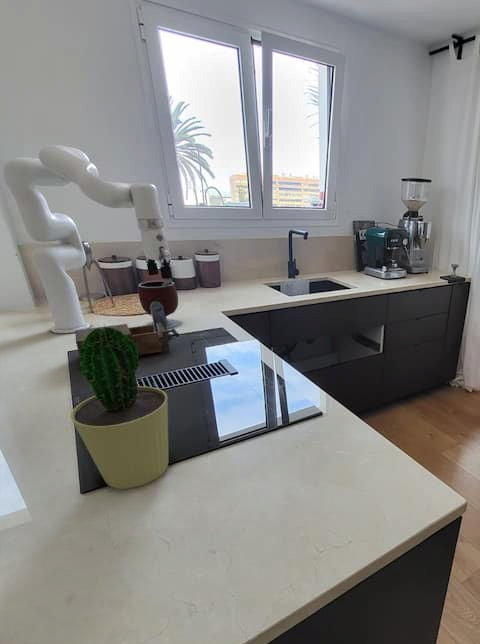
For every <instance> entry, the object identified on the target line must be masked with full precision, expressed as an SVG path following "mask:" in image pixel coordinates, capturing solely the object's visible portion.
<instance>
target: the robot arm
mask: <svg viewBox="0 0 480 644" xmlns="http://www.w3.org/2000/svg"><path fill="white" fill-rule="evenodd" d="M2 176H3V179H4V182H5V184H6V186H7V187H8V190H9V191H10V193H11V195H12V197H13V199H14V201H15V204H16V206H17V209H18V211H19V214H20V217H21V219H22V222H23V224H24V228H25V230H26V233H27V234H28V236H29V237H30V238H31V239H32V240H33V241H35V242H41V243H42V242H43V243H44V242H57V241H58V244H49V245H42V246H38V247H37V248H35V249H34V250H33V251H31V261H32V263H33V266H34V267H35V269H36V272H37V273H38V275H39V277H40V281H41V283H42V286H43V289H44V292H45V295H46V300H47V302H48V306H49V310H50V312H51V316H52V319H53V323H54V325H53V326H51V328H50V330H51V332H52V333H55V334H70V333H71V334H72V333H75V330H82V329H90V327H91V323H90V322H89V321H85V318H84V315H83V311H82V307H81V303H80V300H79V296H78V292H77V288H76V285H75V282H74V280H73V278H72V277H71V276H70V275H69V274H68V273H67V271H71V270H77V269H80V268H83V266H84V265H85V263H86V255H85V251H84V248H83V245H82V242H81V241H82V239H81V236H80V233H79V230H78V227H77V224H76V223H75V222H74V220H73V219H72V218H71V217H70V216H69V215H67V214H65V213H61V212H51V210H50V208H49V205H48V202H47V200H46V198H45V197H44V195H43V193H41V192H40V191H39V190H38V189H37V188H35V187H37V186H39V187H64V186H67V185H69V184H70V183H73V184H75V185H77V186H78V188H79V190H80V191H81V192H82V193H83V195H84V196H86V197H87V198H88V199H90V200H91V201H94V202H96V203H98V204H100V205H102V206H103V207H107V208H110V209H122V208H123V209H132V208H133V209H134V213H135V217H136V223H137V228H138V230H140V239H141V245H142V252H143V253H142V254H143V256H144V259H145V264H146V267H147V272H148V276H154V275H155V276H156V275H157V276H158V275H159V272H160V276H161V279H162V280H168V279H173V276H172V271H171V270H172V269H171V251H170V247H169V243H168V239H167V235H166V233H165V230H164V223H163V216H162V211H161V205H160V200H159V194H158V193H159V192H158V189H157V187H156V186H155V185H154V184H153V183H130V182H116V181H106V180H104V179H102V178H101V177H99V170H98V168H97V166H96V165H94V163H92V162H90V159H89V157H88V156H87V155H86V154H85V152H84V151H82V150H81V149H79V148H76V147H72V146H64V145H58V144H47V145H44V146H42V147H41V148H40V149H39V151H38V158H35V157H25V156H18V157H17V156H16V157H11V158H9V159H7V160H6V161H5V162H4V163H3V167H2ZM156 261H157V262H156ZM157 263H159V265H160V266H159V269H158V264H157ZM85 266H86V265H85ZM159 270H160V271H159Z"/></svg>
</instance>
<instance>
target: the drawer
mask: <svg viewBox="0 0 480 644" xmlns="http://www.w3.org/2000/svg"><path fill="white" fill-rule="evenodd" d="M128 328H129V330H130V332H131V335H132V340H133V343H134V344H135V345H136V347H137V350H138V351H137V352H139V353H138V356H140V355H141V356H142V355H146V354H147V355H149V354H154V353H160V352H162V348H163V350H164V351H165V352H166V353H170V352H171V349H170V344H169V339H168V338H167V337H171V338H172V337H175V338H179V336H180V333H179V332H178V330H177V329H176V328H175V327H174V328H171V329H167V331H166V330H165V329H164V327H163V326H162V324H161V323H157V328H158V332H155V330H154V327H153V325H147V324H146V325H139V326H138V325H137V326H132V327H128ZM168 332H169V334H170V333H171V334H170V335H167V333H168ZM158 334H159V336H158ZM159 339H160V341H159ZM136 341H137V342H138V343H137V342H136ZM140 343H141V344H140ZM137 344H138V345H137ZM161 347H162V348H161Z"/></svg>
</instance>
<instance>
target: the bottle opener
mask: <svg viewBox="0 0 480 644" xmlns="http://www.w3.org/2000/svg"><path fill="white" fill-rule="evenodd" d="M150 309H151V314H152V315H151V318H152V322H153V325H154V332H158V328H157V323H161V324H162V326H163V327H164V329H165V330H166V331H168V329H167V327H166V321H165V316H164V310H163V306H162V305H161V303H160V302H158V301H154V302H152V303H151V306H150ZM167 335H170V332H168V333H167ZM158 336H159V334H158ZM167 338H168V340H172V339H173V338H172V336H171V337H167ZM159 342H160V339H159Z"/></svg>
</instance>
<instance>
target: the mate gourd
mask: <svg viewBox="0 0 480 644" xmlns="http://www.w3.org/2000/svg"><path fill="white" fill-rule="evenodd" d="M173 280H174V279H173V278H168V279H166V280H150V281H143V282H141V283H139V284H138V285H137V286H138V298H139V302H140V305H141V307H142V309H143V311H144V312H146V314H148V315H149V316H152V314H151V309H150V306H151V303H152V302H154V301H158V302H160V303H161V305H162V306H163V310H164V316H165V321H166V327H167V330H171V329H173V328H174V329H175V328H177V327H179V326H180V325H181V322H180V321H179V320H178V319H173V318H172V319H168V318H167V317H168V316H170V315H172V314H174V313H175V312H176V310H177V308H178V306H179V296H178V291H177V287H176V285H175V282H173ZM146 325H153V321H150V322H148V323H147V324H146ZM153 327H154V325H153Z"/></svg>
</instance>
